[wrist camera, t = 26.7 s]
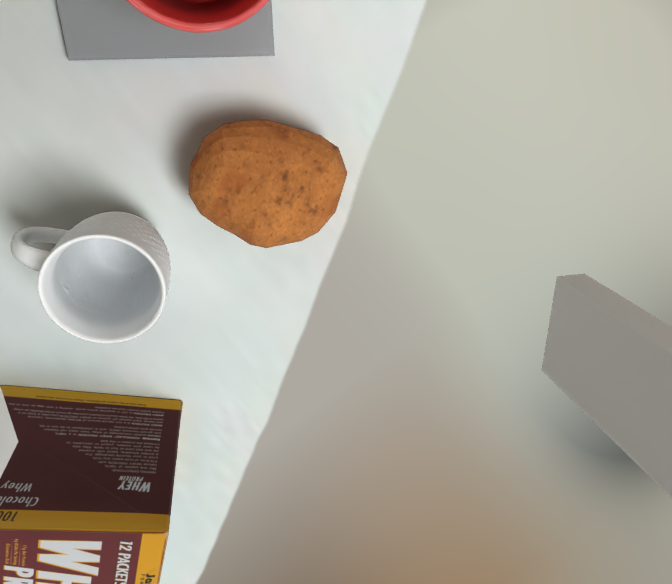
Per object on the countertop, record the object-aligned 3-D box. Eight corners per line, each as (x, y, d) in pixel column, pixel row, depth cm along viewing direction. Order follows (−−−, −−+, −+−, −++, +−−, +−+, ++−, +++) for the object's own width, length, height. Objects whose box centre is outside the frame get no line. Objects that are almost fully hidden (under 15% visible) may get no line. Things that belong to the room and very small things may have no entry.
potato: (310, 245, 47) (326, 278, 40) (178, 209, 43) (171, 238, 37) (346, 141, 44) (370, 157, 37) (207, 93, 40) (206, 102, 34)
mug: (24, 265, 43) (-22, 318, 34) (43, 170, 40) (-1, 202, 32) (161, 300, 46) (150, 356, 38) (187, 215, 43) (180, 254, 35)
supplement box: (-3, 383, 46) (-98, 528, 32) (183, 398, 50) (172, 533, 36) (-5, 478, 50) (-91, 646, 36) (168, 485, 54) (153, 638, 40)
